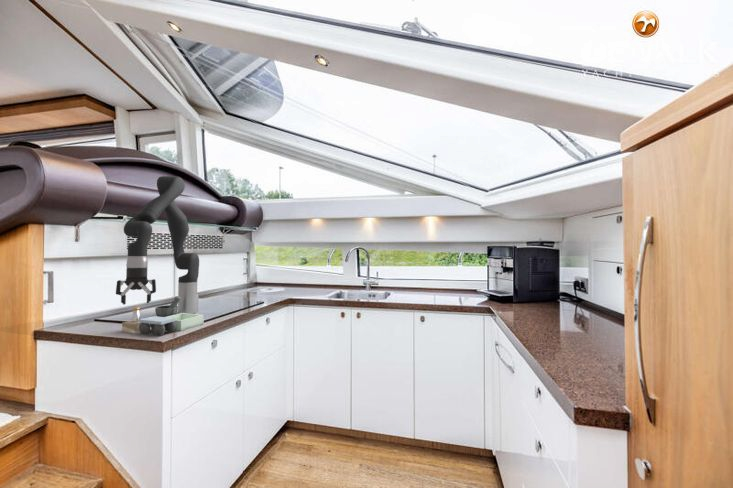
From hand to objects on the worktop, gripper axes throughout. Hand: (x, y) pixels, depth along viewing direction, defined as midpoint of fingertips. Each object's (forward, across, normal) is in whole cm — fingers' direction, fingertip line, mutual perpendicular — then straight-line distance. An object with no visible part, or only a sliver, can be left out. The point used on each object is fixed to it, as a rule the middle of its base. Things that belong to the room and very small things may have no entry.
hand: (136, 303), depth 142 cm
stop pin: (+12, 0, 0) cm, 12 cm away
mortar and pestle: (+12, -12, -16) cm, 23 cm away
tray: (+12, -18, 0) cm, 21 cm away
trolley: (+12, -9, +8) cm, 17 cm away
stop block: (+12, 0, 0) cm, 12 cm away
